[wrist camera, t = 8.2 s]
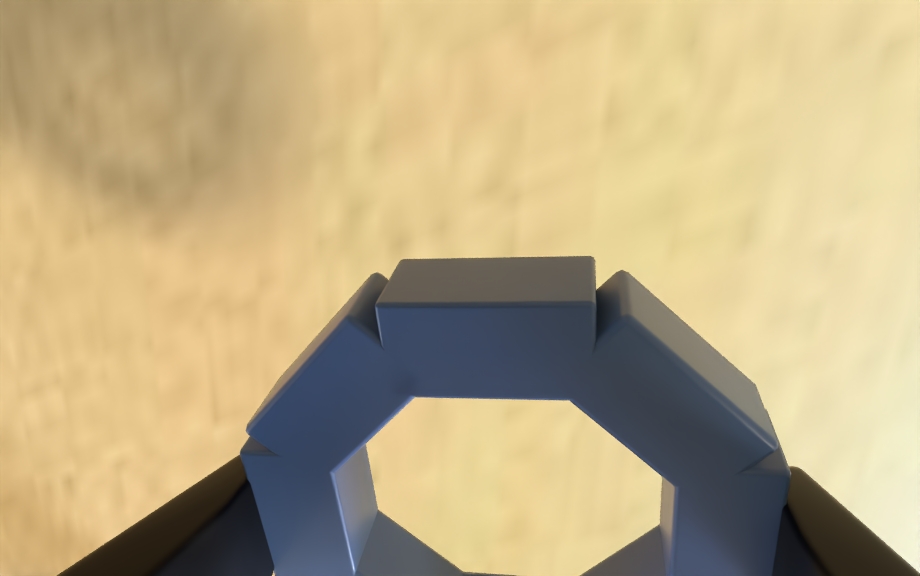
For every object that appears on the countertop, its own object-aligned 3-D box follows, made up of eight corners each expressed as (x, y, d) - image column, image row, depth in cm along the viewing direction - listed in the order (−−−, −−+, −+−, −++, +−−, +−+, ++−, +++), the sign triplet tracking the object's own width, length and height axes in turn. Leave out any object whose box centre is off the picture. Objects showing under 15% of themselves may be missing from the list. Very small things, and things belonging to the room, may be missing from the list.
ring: (208, 456, 10) (165, 517, 9) (486, 144, 7) (469, 177, 6) (526, 681, 11) (520, 757, 10) (870, 482, 9) (910, 560, 8)
